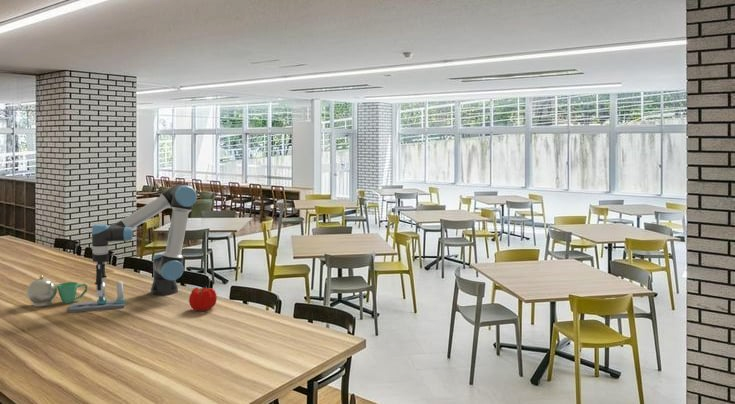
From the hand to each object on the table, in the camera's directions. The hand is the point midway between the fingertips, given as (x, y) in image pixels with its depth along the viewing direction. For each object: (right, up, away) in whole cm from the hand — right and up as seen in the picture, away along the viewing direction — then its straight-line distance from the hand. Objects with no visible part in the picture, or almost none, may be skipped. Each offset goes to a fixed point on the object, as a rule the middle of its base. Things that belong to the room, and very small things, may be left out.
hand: (101, 293), depth 282 cm
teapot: (-34, -7, +3) cm, 35 cm away
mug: (-20, -7, +10) cm, 24 cm away
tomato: (+55, -9, -2) cm, 55 cm away
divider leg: (0, -5, +1) cm, 6 cm away
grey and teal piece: (-2, -8, 0) cm, 8 cm away
